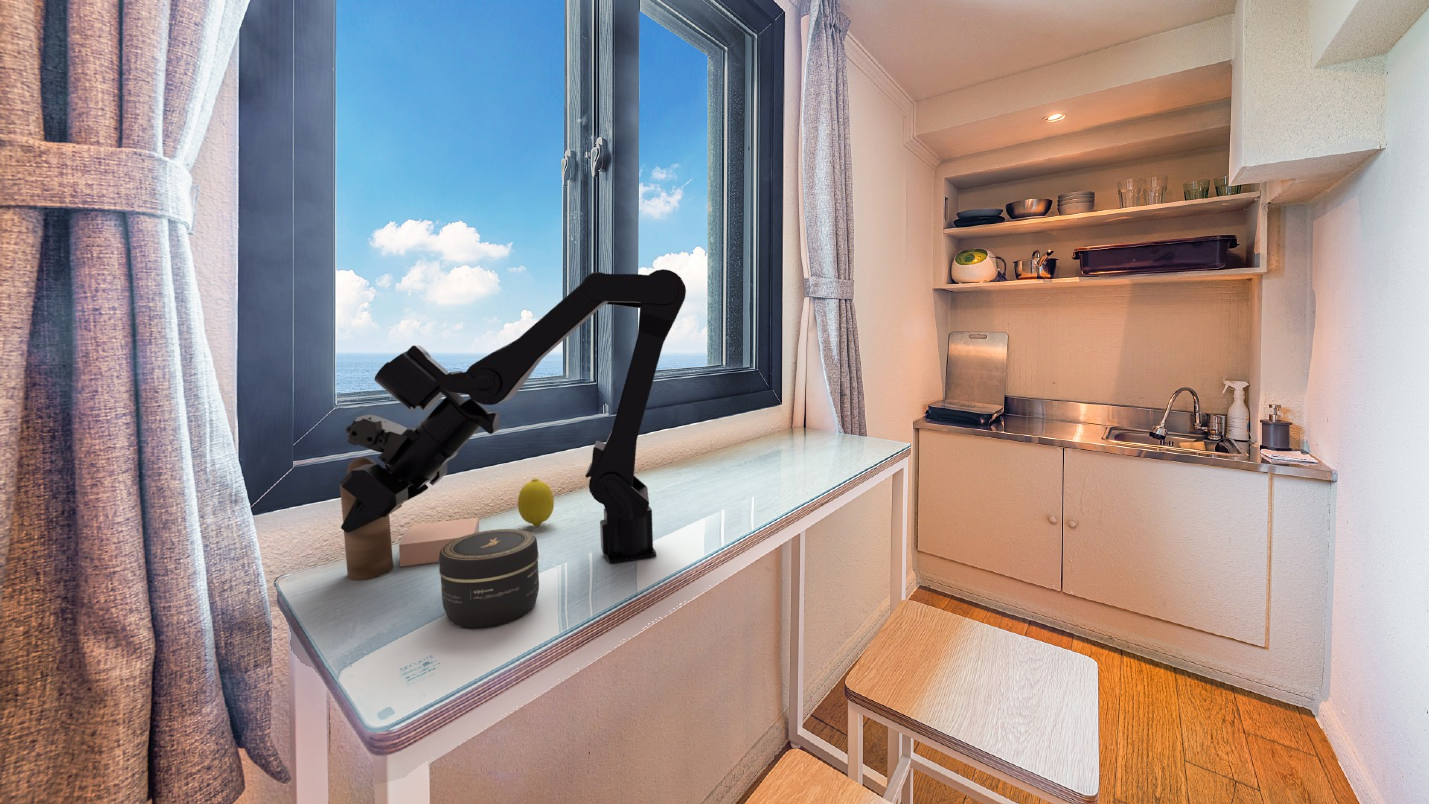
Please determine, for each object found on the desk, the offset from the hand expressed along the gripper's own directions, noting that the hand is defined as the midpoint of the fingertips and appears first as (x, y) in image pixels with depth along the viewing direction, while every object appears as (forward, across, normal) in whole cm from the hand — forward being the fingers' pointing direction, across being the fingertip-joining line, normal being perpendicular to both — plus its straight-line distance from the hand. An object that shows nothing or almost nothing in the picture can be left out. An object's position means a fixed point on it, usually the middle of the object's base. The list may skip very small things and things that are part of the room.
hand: (355, 523), depth 68 cm
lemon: (-9, -14, +19) cm, 26 cm away
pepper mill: (+4, 0, +6) cm, 7 cm away
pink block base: (-1, -6, +10) cm, 12 cm away
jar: (-9, +14, +19) cm, 25 cm away
